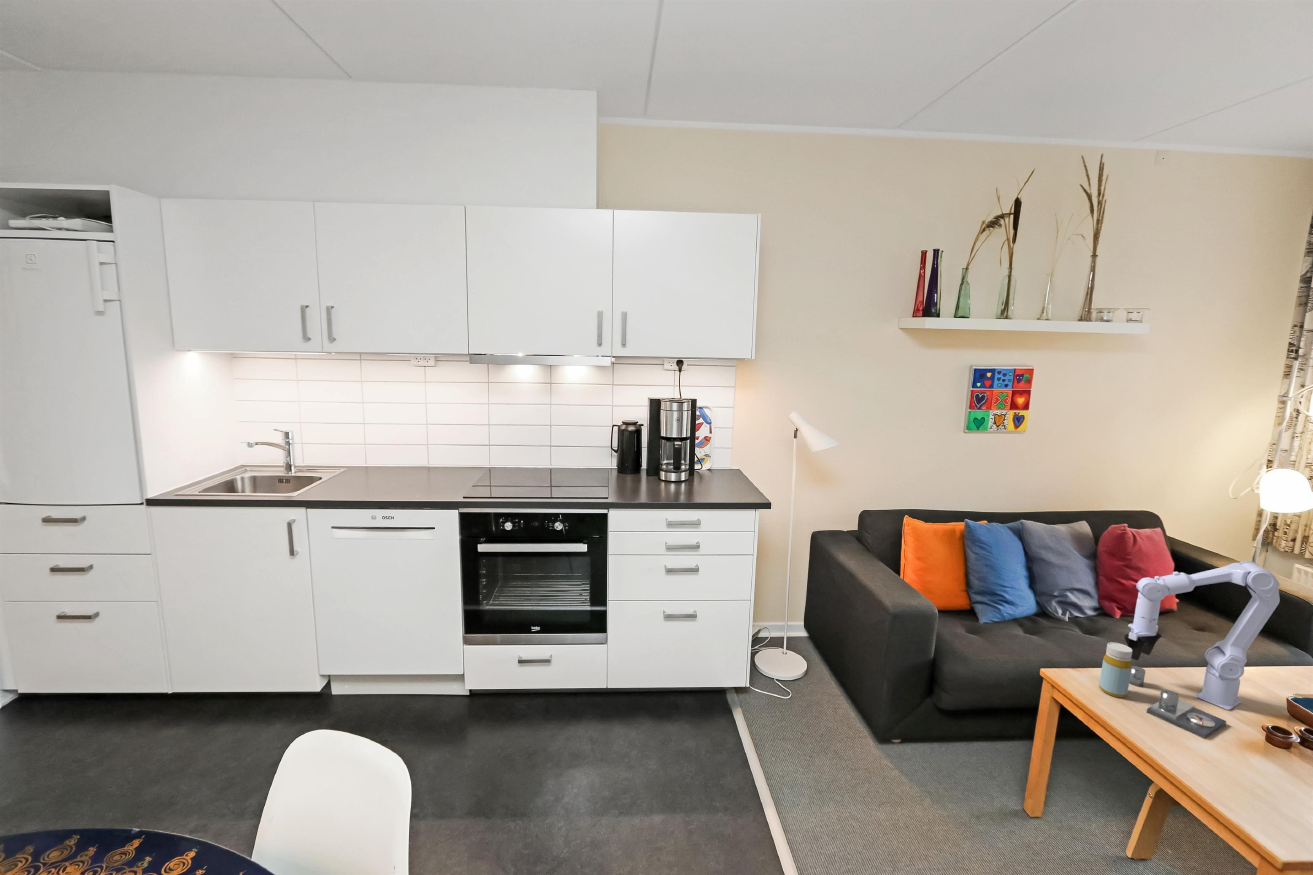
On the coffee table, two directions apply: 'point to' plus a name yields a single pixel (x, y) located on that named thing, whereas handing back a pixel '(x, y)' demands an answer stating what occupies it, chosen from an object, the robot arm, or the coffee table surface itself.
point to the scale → (1189, 719)
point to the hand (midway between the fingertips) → (1139, 656)
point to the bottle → (1116, 670)
